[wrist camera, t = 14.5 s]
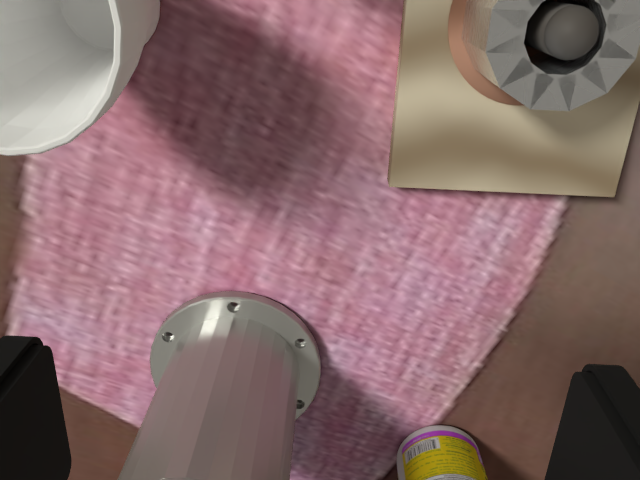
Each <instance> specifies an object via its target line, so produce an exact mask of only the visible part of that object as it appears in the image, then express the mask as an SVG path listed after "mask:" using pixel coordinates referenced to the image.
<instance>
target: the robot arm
mask: <svg viewBox="0 0 640 480" xmlns="http://www.w3.org/2000/svg"><path fill="white" fill-rule="evenodd" d="M233 302H236V303H233ZM300 338H301V339H300ZM150 368H151V375H152V378H153V381H154V384H155V387H156V388H157V389H156V392H155V394H154V396H153V399H152V401H151V403H150V406H149V408H148V410H147V413H146V415H145V417H144V420H143V422H142V424H141V427H140V429H139V431H138V434H137V436H136V438H135V441H134V443H133V445H132V448H131V450H130V452H129V455H128V457H127V459H126V462H125V464H124V466H123V469H122V471H121V473H120V476H119V478H118V480H290V471H291V460H292V450H293V439H294V428H295V420H296V419H297V418H298V417H299V416H301V415H302V414H303V413H304V412H305V411H306V410H307V408H308V407H309V405H310V404H311V403H312V401H313V400H314V397H315V395H316V393H317V390H318V388H319V382H320V376H321V360H320V355H319V349H318V346H317V344H316V342H315V339H314V337H313V335H312V334H311V332H310V331H309V329H308V328H307V326H306V325H305V324H304V323H303V322H302V321H301V320H300V319H299V318H298V317H297V316H296V315H295V314H294V313H293V312H292V311H290V310H289V309H287V308H286V307H284V306H283V305H281V304H280V303H277V302H275V301H273V300H271V299H268V298H266V297H264V296H260V295H256V294H252V293H248V292H237V291H223V292H213V293H209V294H205V295H201V296H198V297H196V298H194V299H192V300H189V301H187V302H185V303H183V304H182V305H181V306H179V307H178V308H177V309H175V310H174V311H173V312H172V313H171V314H170V315H169V316H168V317H167V318H166V320H165V321H164V322H163V323H162V325H161V327H160V329H159V331H158V332H157V334H156V337H155V339H154V342H153V344H152V347H151V354H150ZM70 469H71V454H70V448H69V443H68V437H67V432H66V426H65V421H64V415H63V409H62V404H61V398H60V393H59V387H58V382H57V376H56V370H55V365H54V359H53V354H52V350H51V348H50V347H49V346H43V343H42V341H41V340H40V338H38V337H25V336H3V337H2V338H1V339H0V480H67V479H68V477H69V473H70ZM545 480H640V389H639V388H638V386H637V385H636V384H635V382H634V381H633V379H632V378H631V377H630V375H629V374H628V372H627V371H626V370H625V369H624V368H623V367H622V366H617V365H597V364H588V365H586V366H585V367H584V368H583V370H582V372H575V373H574V374H573V377H572V379H571V383H570V387H569V390H568V394H567V398H566V402H565V405H564V409H563V413H562V417H561V420H560V424H559V428H558V432H557V435H556V439H555V443H554V446H553V450H552V454H551V458H550V461H549V465H548V469H547V473H546V476H545Z"/></svg>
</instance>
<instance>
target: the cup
mask: <svg viewBox="0 0 640 480" xmlns="http://www.w3.org/2000/svg"><path fill="white" fill-rule="evenodd" d="M159 16H160V0H0V155H6V156H15V155H27V154H39V153H44V152H46V151H49V150H51V149H54V148H57V147H59V146H62V145H65V144H67V143H70V142H71V141H73V140H74V139H75V138H76V137H78V136H79V135H80V134H81V133H83V132H84V131H85V130H87V129H88V128H89V127H90V126H92V125H93V124H94V123H95V122H96V121H97V120H98V119H99V118H101V117H102V116H103V115H104V114H105V113H106V112H107V111H108V110H109V109H110V108H111V107H112V106H113V104H114V103H115V101H116V100H117V98H118V97H119V95H120V94H121V92H122V91H123V90H124V88H125V87H126V85H127V84H128V82H129V80H130V78H131V76H132V75H133V73H134V71H135V69H136V67H137V65H138V63H139V59H140V56H141V53H142V50H143V47H144V45H145V44H146V43H147V42H148V41H149V39H150V38H151V36H152V35H153V33H154V32H155V30H156V27H157V24H158V21H159Z"/></svg>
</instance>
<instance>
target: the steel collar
mask: <svg viewBox="0 0 640 480" xmlns="http://www.w3.org/2000/svg"><path fill="white" fill-rule="evenodd" d="M543 1H545V0H467V1H466V7H465V14H464V22H463V29H462V37H461V38H462V41H463V43H464V46H465V48H466V50H467V53H468V55H469V58H470V60H471V63H472V65H473V68H474V69H475V70H476V71H478V72H479V73H480V74H482V75H483V76H484V77H486V78H487V79H488V80H489V81H491V82H492V83H493V84H495V85H496V86H497V87H499V88H500V89H502V90H503V91H505V92H506V93H507V94H509V95H510V96H512V97H513V98H515V99H516V100H517V101H519V102H520V103H522V104H523V105H525V106H526V107H527V108H529V109H533V110H555V111H570V110H572V109H575V108H577V107H579V106H581V105H583V104H585V103H587V102H589V101H592V100H594V99H596V98H598V97H600V96H602V95H604V94H606V93H608V92H609V90H610V89H611V88H612V87H613V86H614V84H615V83H616V82H617V81H618V80H619V78H620V77H621V76H622V75H623V74H624V72H625V71H626V70H627V69H628V68H629V66H630V65H631V64H632V63H633V62H634V60H635V59H636V56H637V52H638V49H639V45H640V0H557V2H562V3H568V4H574V5H580V6H583V7H586V8H588V9H589V10H590V11H592V12H593V13H594V15H595V16H596V18H597V20H598V24H599V35H598V38H597V41H596V43H595V45H594V46H593V47H592V49H591V50H590V51H589V52H588V53H586V54H585V55H583V56H581V57H579V58H577V59H573V60H562V59H558V58H556V57H553V56H551V55H549V54H546V53H544V52H542V51H541V52H539V53H537V54H535V55H533V56H531V57H529V56H528V54H527V51H526V48H525V45H524V39H525V34H526V28H527V22H528V20H529V19H530V18H531V16H532V15H533V14H534V12H535V11H536V9H537V8H538V7H539V5H540V4H541V3H542V2H543Z"/></svg>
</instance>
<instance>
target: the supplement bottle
mask: <svg viewBox="0 0 640 480" xmlns="http://www.w3.org/2000/svg"><path fill="white" fill-rule="evenodd" d="M397 472H398V480H488V479H487V476H486V472H485V469H484V465H483V462H482V459H481V456H480V453H479V450H478V447H477V445H476V443H475V442H474V440H473V439H472V438H471V437H470V436H469V435H468V434H467V433H465V432H464V431H462V430H460V429H458V428H455V427H452V426H445V425H434V426H428V427H424V428H421V429H419V430H416V431H415V432H413V433H412V434H410V435H409V436H408V437H407V438H406V439H405V440H404V441H403V442H402V444H401V445H400V447H399V449H398V453H397Z"/></svg>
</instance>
